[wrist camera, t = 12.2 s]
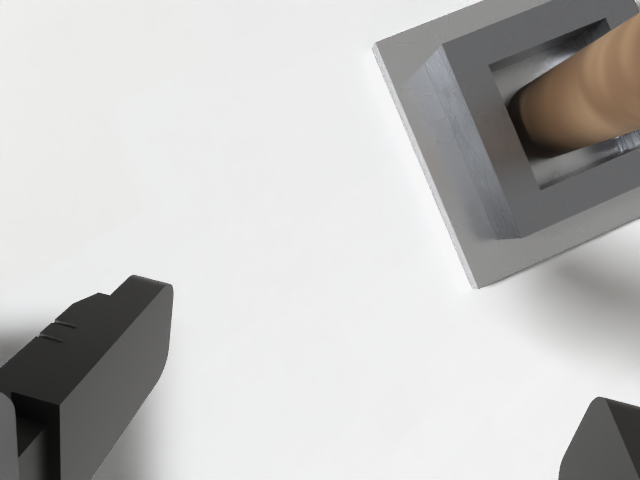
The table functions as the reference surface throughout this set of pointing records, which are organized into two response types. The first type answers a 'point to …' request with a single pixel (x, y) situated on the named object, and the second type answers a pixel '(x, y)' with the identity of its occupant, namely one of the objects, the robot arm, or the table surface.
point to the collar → (507, 131)
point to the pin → (582, 97)
